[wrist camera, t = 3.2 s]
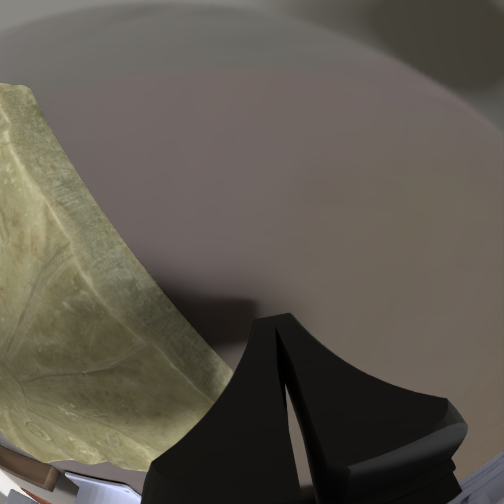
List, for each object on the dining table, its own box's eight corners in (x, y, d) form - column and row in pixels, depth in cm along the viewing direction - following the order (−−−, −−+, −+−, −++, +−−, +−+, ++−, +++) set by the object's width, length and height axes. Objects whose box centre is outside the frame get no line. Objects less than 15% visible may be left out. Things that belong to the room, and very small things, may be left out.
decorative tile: (-69, 291, 10) (-93, 309, 7) (32, 81, 8) (-18, 69, 4) (68, 451, 16) (57, 480, 13) (261, 387, 13) (268, 443, 10)
